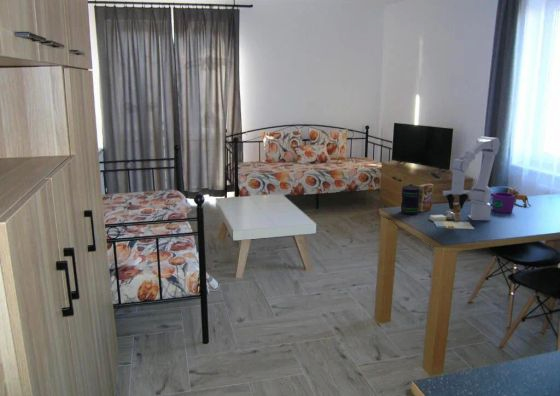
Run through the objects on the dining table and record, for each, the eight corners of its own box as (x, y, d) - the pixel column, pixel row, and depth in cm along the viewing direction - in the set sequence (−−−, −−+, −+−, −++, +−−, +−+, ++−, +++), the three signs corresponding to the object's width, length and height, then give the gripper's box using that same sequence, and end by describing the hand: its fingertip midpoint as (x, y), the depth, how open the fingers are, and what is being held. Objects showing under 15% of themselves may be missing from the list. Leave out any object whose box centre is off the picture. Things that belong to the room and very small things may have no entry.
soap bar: (441, 219, 256) (442, 214, 255) (445, 221, 251) (446, 216, 251) (429, 219, 255) (430, 215, 254) (433, 222, 250) (434, 217, 250)
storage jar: (417, 211, 270) (419, 185, 266) (419, 216, 260) (421, 189, 257) (399, 210, 271) (401, 185, 268) (401, 215, 262) (402, 189, 258)
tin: (455, 216, 259) (456, 210, 258) (457, 220, 253) (458, 213, 252) (444, 216, 260) (444, 210, 259) (445, 219, 254) (446, 213, 253)
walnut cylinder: (459, 211, 243) (460, 203, 242) (460, 213, 239) (461, 205, 238) (450, 210, 244) (450, 203, 243) (451, 212, 240) (452, 205, 239)
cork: (459, 220, 252) (460, 212, 251) (461, 222, 249) (461, 213, 248) (453, 220, 252) (454, 212, 251) (455, 221, 249) (455, 213, 248)
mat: (468, 222, 248) (468, 221, 248) (474, 229, 237) (474, 227, 237) (433, 221, 250) (433, 220, 250) (437, 228, 239) (437, 226, 239)
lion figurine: (504, 202, 286) (506, 188, 284) (508, 201, 290) (510, 187, 287) (529, 207, 275) (530, 192, 273) (533, 206, 278) (535, 191, 276)
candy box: (421, 212, 267) (423, 186, 264) (415, 210, 271) (417, 184, 267) (431, 209, 272) (433, 184, 268) (425, 208, 276) (427, 182, 272)
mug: (517, 212, 267) (519, 194, 264) (506, 215, 261) (508, 197, 258) (489, 205, 281) (490, 189, 278) (477, 208, 274) (479, 191, 272)
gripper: (467, 180, 242) (465, 206, 246) (440, 181, 241) (438, 206, 244) (474, 183, 235) (472, 209, 239) (447, 184, 234) (444, 210, 237)
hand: (455, 208), depth 241 cm, fingers closed on walnut cylinder, 4 cm apart
